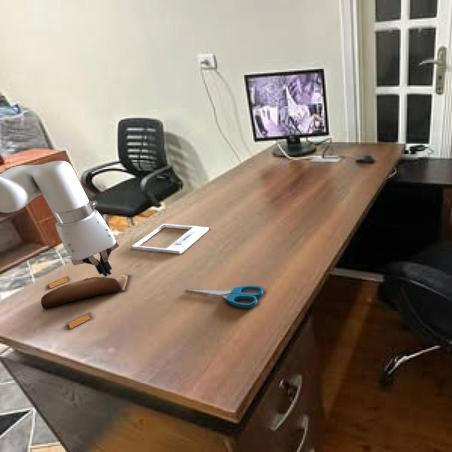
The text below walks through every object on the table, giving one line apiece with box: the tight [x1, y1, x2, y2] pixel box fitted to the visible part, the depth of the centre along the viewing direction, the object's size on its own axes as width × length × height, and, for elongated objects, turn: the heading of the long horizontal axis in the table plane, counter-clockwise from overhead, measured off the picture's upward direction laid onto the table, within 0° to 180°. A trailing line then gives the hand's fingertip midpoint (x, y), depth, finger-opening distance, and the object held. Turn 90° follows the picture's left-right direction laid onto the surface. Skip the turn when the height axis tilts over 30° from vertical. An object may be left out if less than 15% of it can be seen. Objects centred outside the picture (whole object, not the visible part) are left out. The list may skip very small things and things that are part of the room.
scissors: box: [186, 285, 264, 309], centre depth 86 cm, size 7×1×20 cm
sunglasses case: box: [40, 274, 129, 310], centre depth 90 cm, size 18×7×7 cm
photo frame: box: [131, 223, 210, 254], centre depth 113 cm, size 15×1×18 cm
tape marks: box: [48, 277, 91, 330], centre depth 89 cm, size 4×25×1 cm, turn 46°
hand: (106, 273), depth 93 cm, fingers closed
